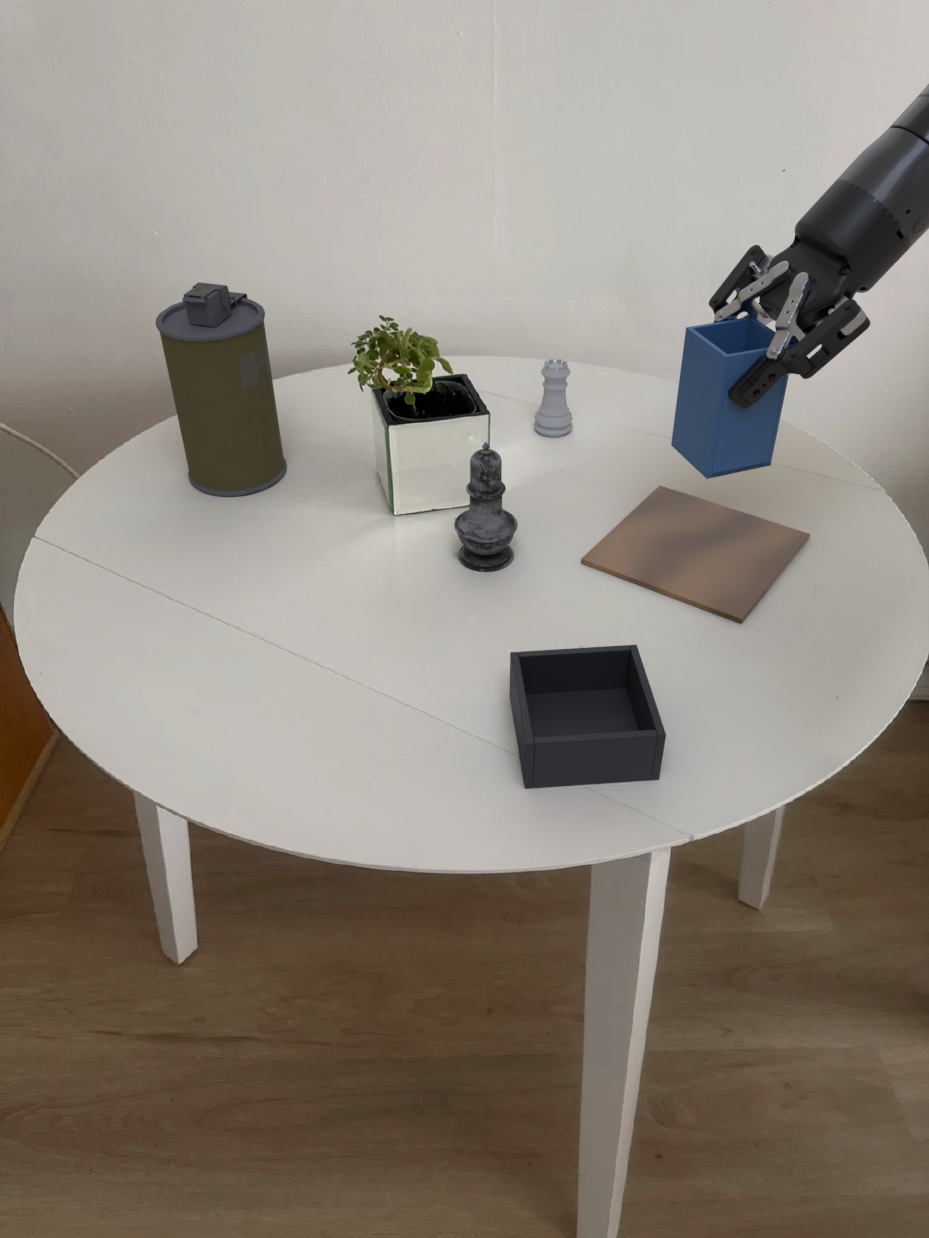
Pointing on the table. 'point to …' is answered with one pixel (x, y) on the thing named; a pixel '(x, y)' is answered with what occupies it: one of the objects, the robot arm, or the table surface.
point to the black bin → (584, 716)
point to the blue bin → (725, 399)
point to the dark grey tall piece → (485, 516)
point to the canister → (223, 390)
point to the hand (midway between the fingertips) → (713, 383)
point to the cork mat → (698, 552)
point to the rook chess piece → (554, 401)
